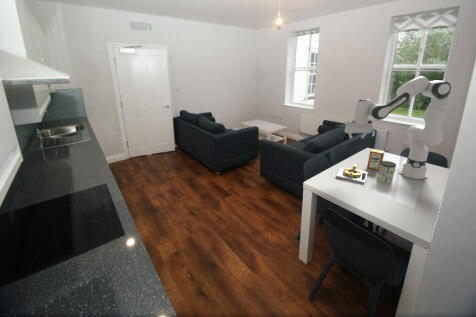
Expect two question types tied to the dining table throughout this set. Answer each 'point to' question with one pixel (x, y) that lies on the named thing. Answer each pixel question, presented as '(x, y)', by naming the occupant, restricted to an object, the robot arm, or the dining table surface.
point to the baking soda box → (375, 159)
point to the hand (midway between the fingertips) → (356, 138)
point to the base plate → (353, 179)
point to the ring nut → (357, 174)
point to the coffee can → (386, 171)
